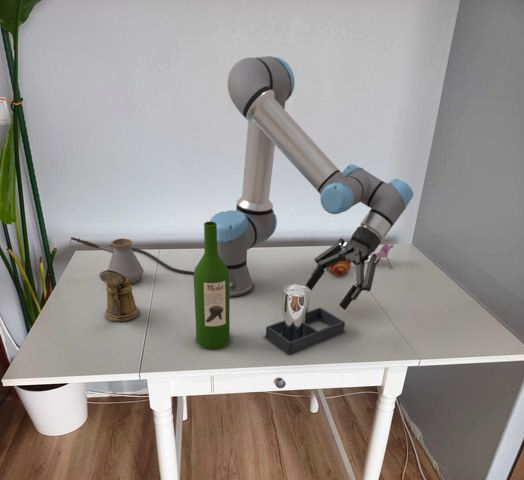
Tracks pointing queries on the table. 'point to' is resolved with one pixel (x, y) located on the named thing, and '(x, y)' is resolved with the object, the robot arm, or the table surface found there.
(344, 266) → the croissant
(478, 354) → the table surface
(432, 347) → the table surface
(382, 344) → the table surface
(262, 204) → the robot arm
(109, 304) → the wooden mug
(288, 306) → the beer glass
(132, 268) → the coffee pot
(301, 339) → the rectangular tray
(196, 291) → the wine bottle
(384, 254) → the lily
